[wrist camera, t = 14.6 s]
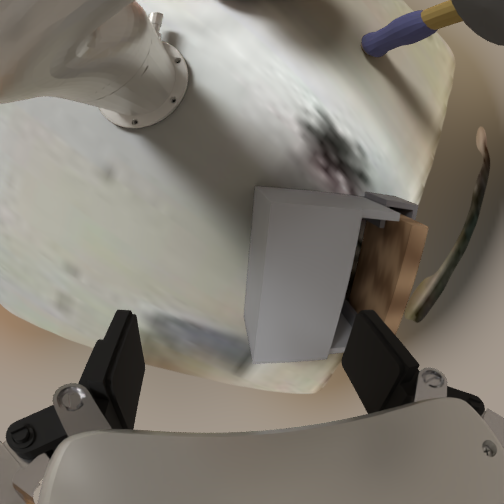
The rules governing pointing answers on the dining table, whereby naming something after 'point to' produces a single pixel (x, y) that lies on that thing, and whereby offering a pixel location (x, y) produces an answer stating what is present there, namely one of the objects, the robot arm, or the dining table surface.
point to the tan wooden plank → (388, 268)
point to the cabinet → (306, 269)
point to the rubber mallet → (439, 24)
